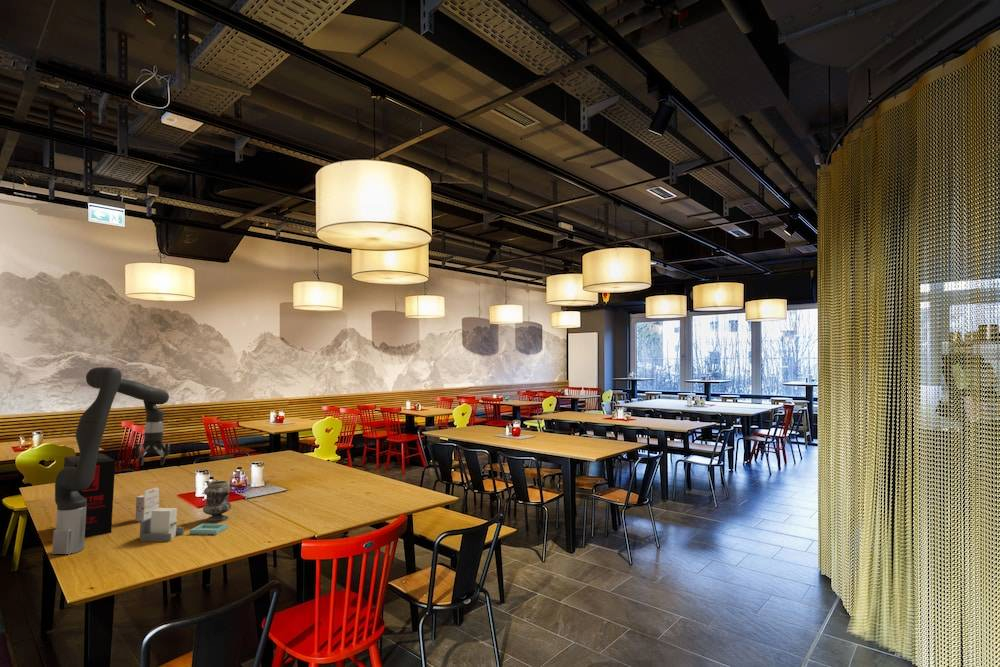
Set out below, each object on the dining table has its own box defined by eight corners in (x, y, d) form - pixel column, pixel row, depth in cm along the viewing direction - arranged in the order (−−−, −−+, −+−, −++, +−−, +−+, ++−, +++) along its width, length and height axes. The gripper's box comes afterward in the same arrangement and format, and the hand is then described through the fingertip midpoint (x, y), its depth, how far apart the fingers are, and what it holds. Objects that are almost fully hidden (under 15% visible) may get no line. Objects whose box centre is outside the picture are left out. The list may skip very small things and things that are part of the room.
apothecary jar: (221, 514, 259) (223, 478, 260) (235, 518, 253) (237, 481, 254) (197, 520, 249) (198, 482, 250) (211, 524, 242) (213, 486, 244)
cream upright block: (170, 539, 221) (171, 511, 222) (150, 539, 222) (151, 511, 222) (177, 535, 226) (179, 508, 227) (158, 535, 227) (159, 507, 227)
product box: (111, 532, 230) (115, 460, 232) (70, 540, 219) (74, 464, 221) (98, 520, 248) (102, 453, 250) (60, 527, 237) (64, 457, 239)
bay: (169, 541, 219) (170, 522, 220) (139, 540, 219) (140, 521, 220) (183, 534, 229) (184, 515, 229) (154, 533, 229) (155, 515, 229)
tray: (216, 534, 228) (216, 530, 228) (189, 534, 228) (190, 529, 228) (227, 528, 237) (227, 524, 237) (202, 528, 237) (202, 523, 237)
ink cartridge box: (150, 516, 255) (151, 486, 256) (158, 517, 254) (160, 486, 255) (134, 521, 247) (136, 490, 248) (143, 522, 246) (144, 490, 247)
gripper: (133, 432, 244) (131, 467, 242) (167, 431, 247) (165, 466, 246) (140, 430, 251) (138, 464, 250) (173, 430, 255) (171, 463, 253)
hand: (151, 465), depth 248 cm, fingers open, 8 cm apart
